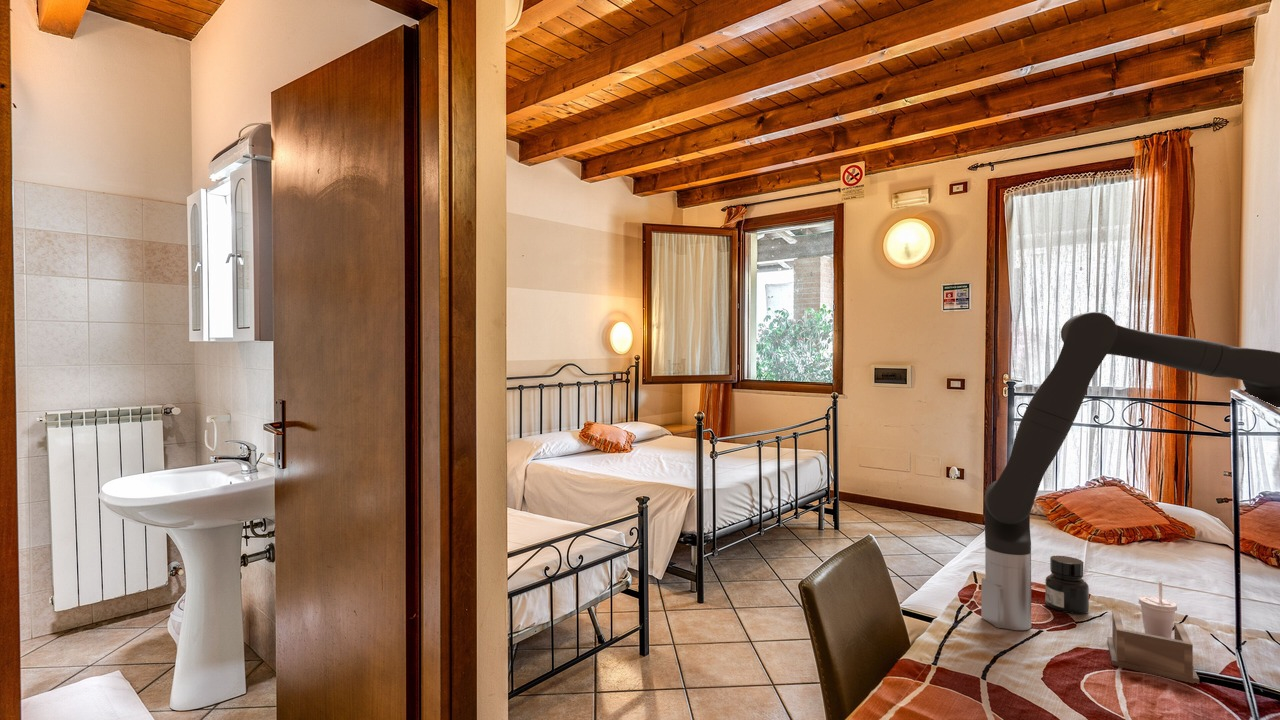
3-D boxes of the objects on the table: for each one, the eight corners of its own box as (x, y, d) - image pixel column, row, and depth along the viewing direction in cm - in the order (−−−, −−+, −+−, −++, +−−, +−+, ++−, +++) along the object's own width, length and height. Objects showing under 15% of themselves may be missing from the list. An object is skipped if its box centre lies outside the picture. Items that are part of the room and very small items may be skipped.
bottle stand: (1107, 641, 132) (1107, 609, 132) (1186, 657, 125) (1186, 623, 125) (1112, 665, 121) (1112, 630, 121) (1199, 684, 114) (1199, 647, 114)
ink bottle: (1041, 598, 156) (1041, 552, 157) (1081, 603, 153) (1081, 556, 153) (1051, 612, 147) (1050, 563, 148) (1094, 618, 144) (1094, 568, 144)
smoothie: (1169, 655, 125) (1168, 588, 126) (1132, 643, 131) (1132, 578, 131) (1183, 649, 128) (1182, 583, 128) (1147, 637, 134) (1146, 574, 134)
